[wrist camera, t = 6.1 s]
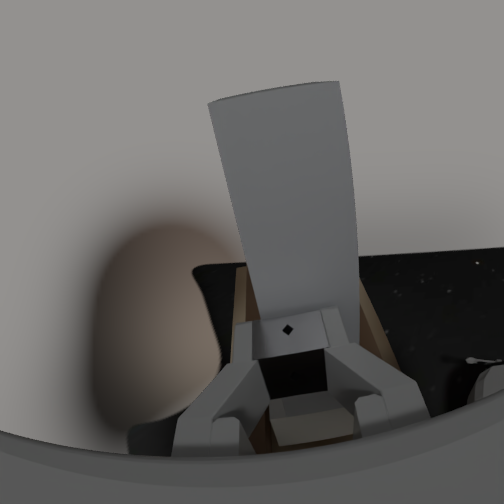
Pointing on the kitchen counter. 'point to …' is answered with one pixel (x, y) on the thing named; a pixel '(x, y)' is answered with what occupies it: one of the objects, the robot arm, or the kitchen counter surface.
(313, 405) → the tall post on base
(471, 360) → the robot toy
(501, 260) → the kitchen counter surface
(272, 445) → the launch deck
